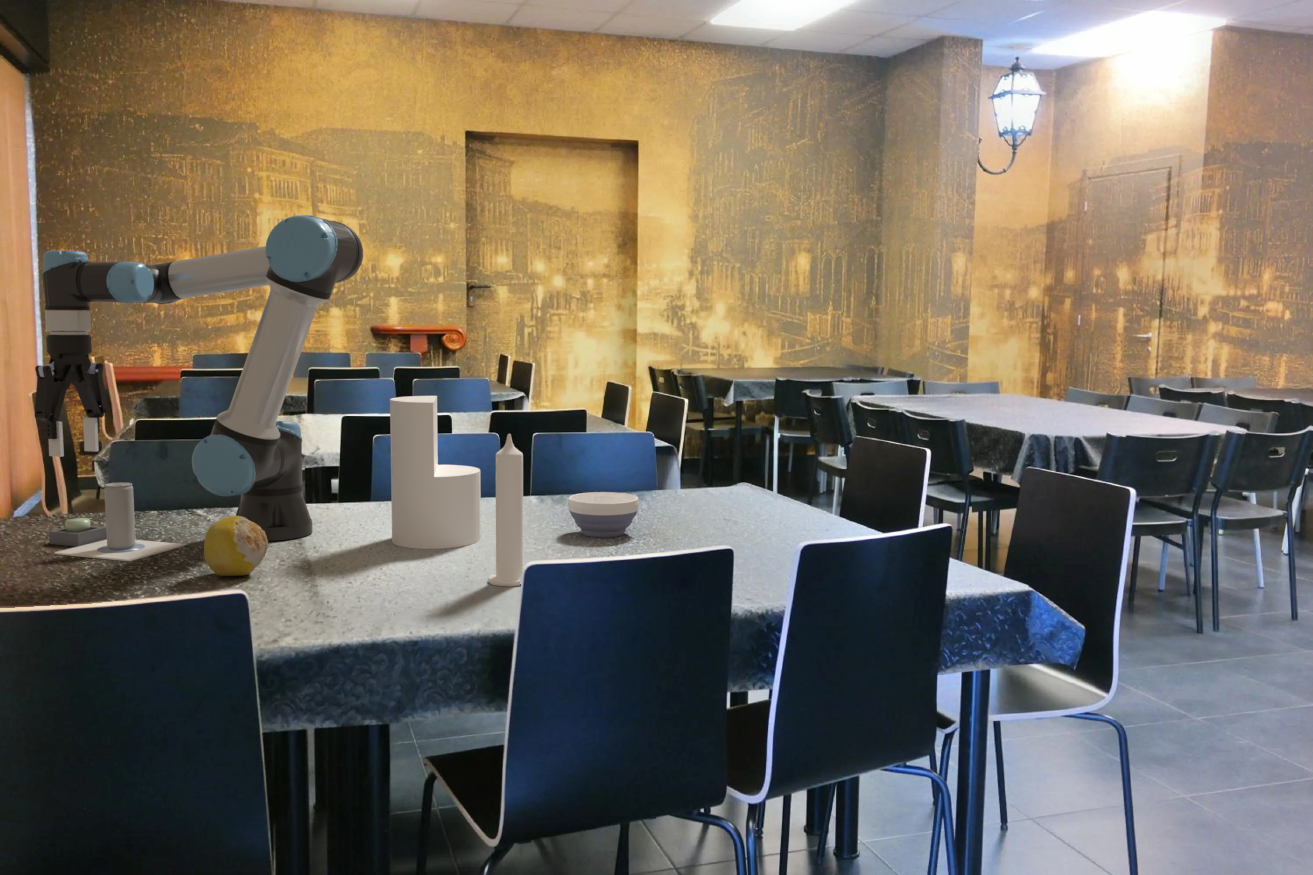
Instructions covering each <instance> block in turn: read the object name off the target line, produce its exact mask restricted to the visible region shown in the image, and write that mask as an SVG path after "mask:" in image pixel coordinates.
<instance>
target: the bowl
mask: <svg viewBox="0 0 1313 875" xmlns="http://www.w3.org/2000/svg"><path fill="white" fill-rule="evenodd" d="M639 502H640V501H639V497H638V496H637V495H635V494H630V493H624V492H613V491H611V492H610V491H600V492H599V491H593V492H582V493H576V494H572V495H570V496H569V497H568V502H567V505H568V511H569V514H570V516H571V517H572V519H573V520H574V523H575V524H576V525H577V527H578V528H580V532H581V534H583V535H584V536H586V537H589V538H598V539H599V538H600V539H604V538H605V539H611V538H618V537H621V536H623V535H625V533H626V530H627V528H629V527H630V525H631V524H632V523H633V520H634V518H635V517H636V515H637V513H638V510H639V509H640V508H639V505H640V503H639Z"/></svg>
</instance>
